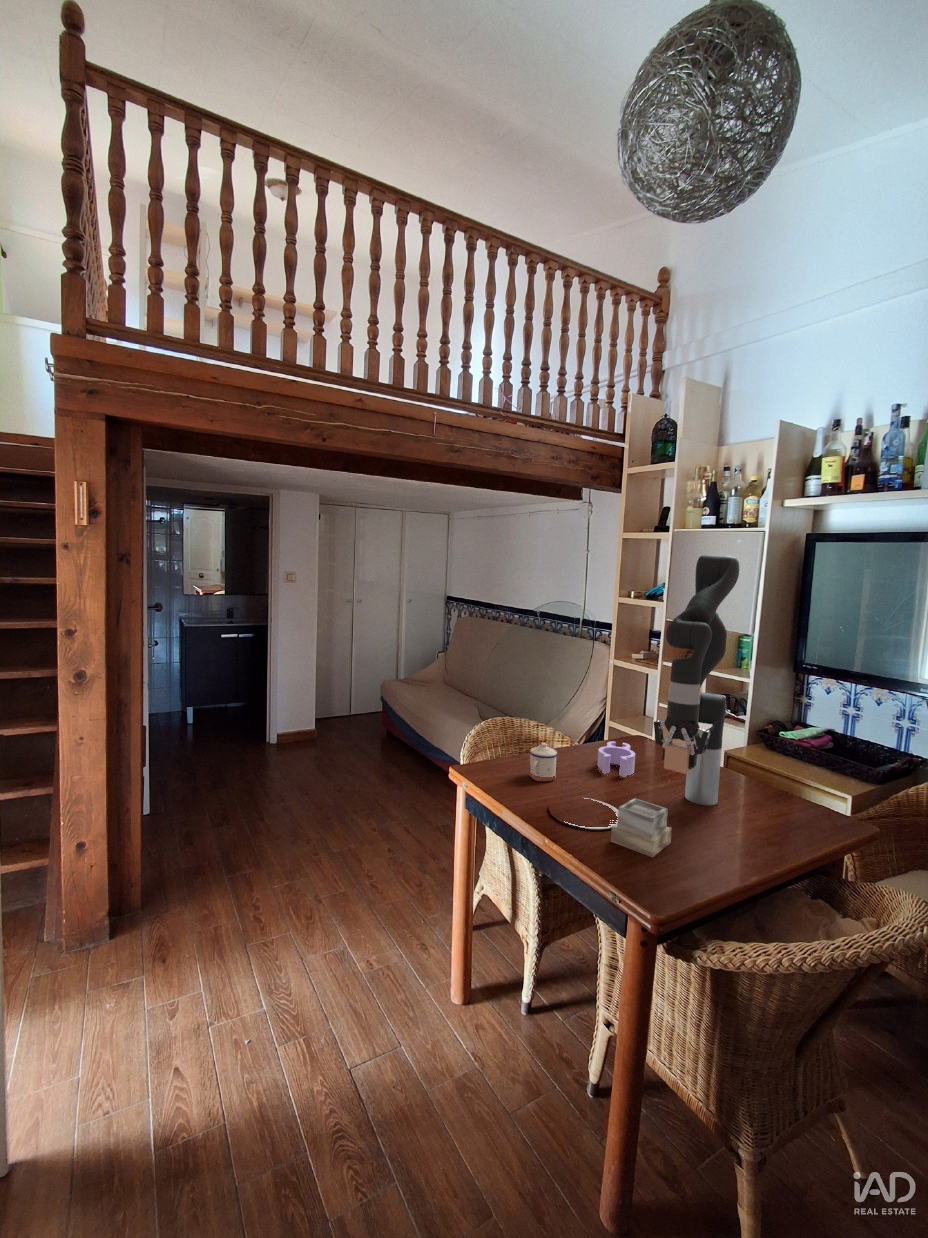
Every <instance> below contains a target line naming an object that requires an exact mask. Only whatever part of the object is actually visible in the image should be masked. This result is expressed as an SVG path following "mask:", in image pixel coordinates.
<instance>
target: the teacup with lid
mask: <svg viewBox="0 0 928 1238" xmlns="http://www.w3.org/2000/svg"><path fill="white" fill-rule="evenodd" d="M557 756H558V751H557V750H556V749H553V748H551V747H550V746H548V744H547V742H542V743H540V745H538V746H534V747H532V748H531V749H530V750H529V766H528V767H529V770H528V772H529V771H530V773H531V774H533V775H535V776H540V777H553V776H555V777H556V771H557V770H556V767H557Z"/></svg>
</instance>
